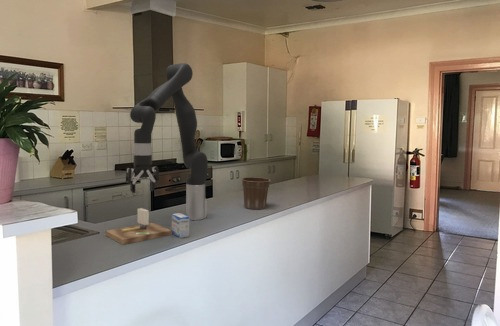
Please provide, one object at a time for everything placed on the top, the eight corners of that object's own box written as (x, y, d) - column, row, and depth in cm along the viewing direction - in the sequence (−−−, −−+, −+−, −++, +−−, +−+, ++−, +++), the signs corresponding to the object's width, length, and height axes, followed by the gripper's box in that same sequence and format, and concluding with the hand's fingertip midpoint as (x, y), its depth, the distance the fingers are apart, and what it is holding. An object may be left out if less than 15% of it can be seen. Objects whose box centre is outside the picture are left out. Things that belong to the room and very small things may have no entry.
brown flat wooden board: (152, 227, 189) (152, 222, 189) (171, 234, 177) (171, 230, 177) (105, 235, 174) (105, 230, 174) (123, 244, 162) (123, 239, 162)
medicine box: (171, 233, 179) (171, 213, 178) (180, 232, 182) (180, 212, 181) (179, 238, 173) (180, 217, 172) (189, 236, 176) (189, 216, 175)
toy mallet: (142, 225, 182) (142, 207, 181) (149, 228, 178) (149, 210, 177) (118, 230, 175) (118, 211, 174) (125, 233, 170) (125, 214, 169)
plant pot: (274, 206, 239) (274, 178, 237) (263, 212, 224) (263, 182, 222) (248, 203, 246) (249, 176, 244) (236, 208, 231) (236, 179, 229)
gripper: (153, 152, 183) (153, 189, 185) (122, 153, 173) (122, 192, 175) (162, 154, 178) (162, 191, 179) (131, 155, 168) (131, 194, 170)
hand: (142, 191), depth 177 cm, fingers open, 8 cm apart
